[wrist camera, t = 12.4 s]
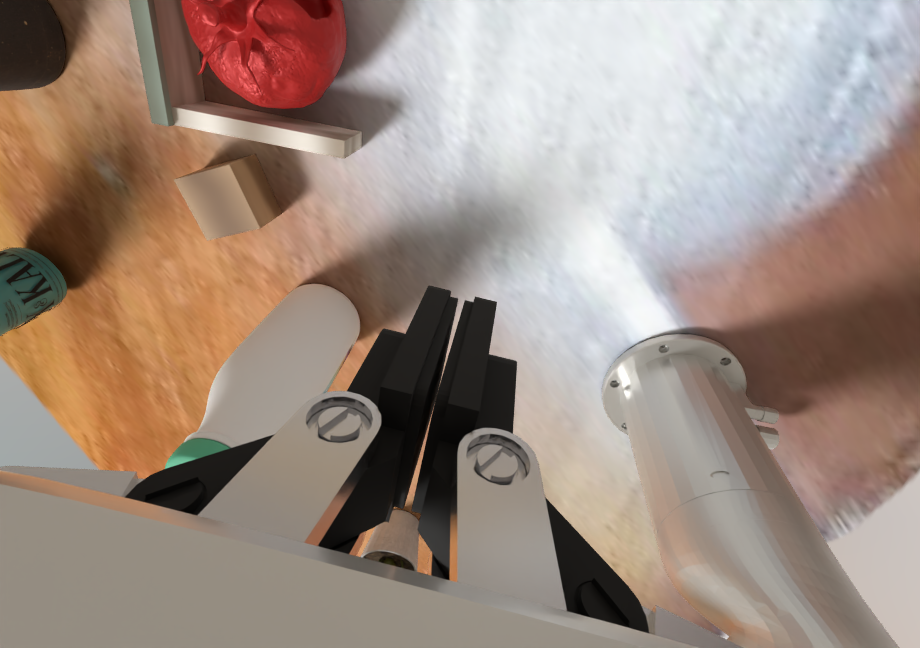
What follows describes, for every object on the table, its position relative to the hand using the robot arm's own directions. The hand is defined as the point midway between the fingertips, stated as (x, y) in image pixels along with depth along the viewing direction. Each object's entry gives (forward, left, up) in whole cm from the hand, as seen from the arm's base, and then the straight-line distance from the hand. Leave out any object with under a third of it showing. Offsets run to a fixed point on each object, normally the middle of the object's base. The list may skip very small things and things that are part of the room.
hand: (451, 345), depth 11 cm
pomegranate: (+16, -5, -27) cm, 32 cm away
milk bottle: (+14, +19, -27) cm, 36 cm away
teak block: (+21, +8, -27) cm, 35 cm away
